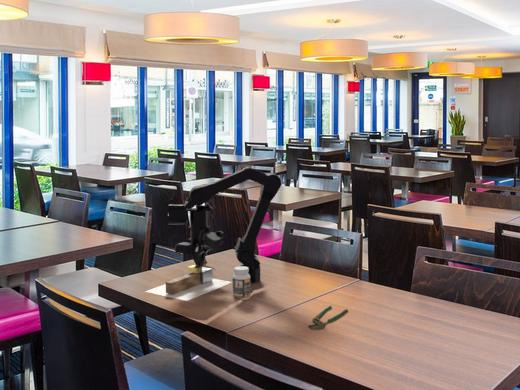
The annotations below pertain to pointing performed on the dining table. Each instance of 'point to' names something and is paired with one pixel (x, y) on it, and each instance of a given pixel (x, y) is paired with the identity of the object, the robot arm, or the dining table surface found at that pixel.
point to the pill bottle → (241, 283)
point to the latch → (195, 269)
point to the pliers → (321, 324)
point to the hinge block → (205, 275)
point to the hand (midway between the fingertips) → (199, 268)
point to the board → (190, 290)
